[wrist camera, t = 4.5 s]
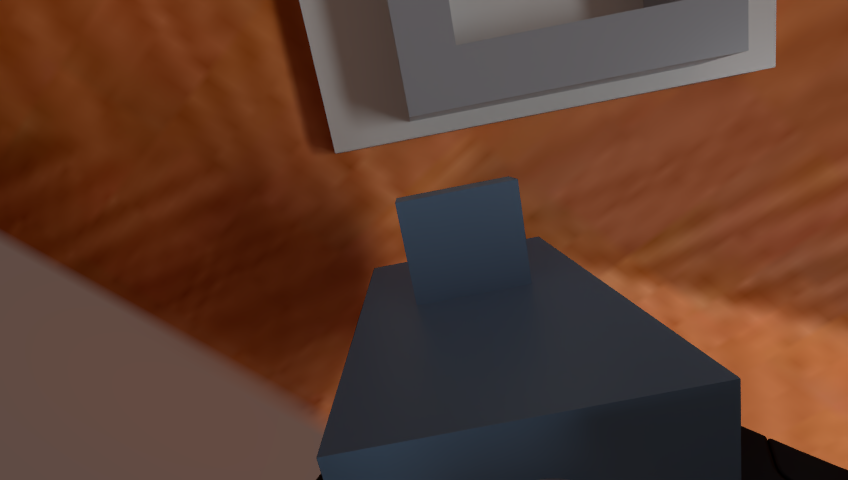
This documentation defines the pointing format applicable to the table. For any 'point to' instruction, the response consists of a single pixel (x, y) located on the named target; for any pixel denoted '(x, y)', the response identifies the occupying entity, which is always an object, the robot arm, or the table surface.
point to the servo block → (517, 365)
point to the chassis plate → (515, 57)
